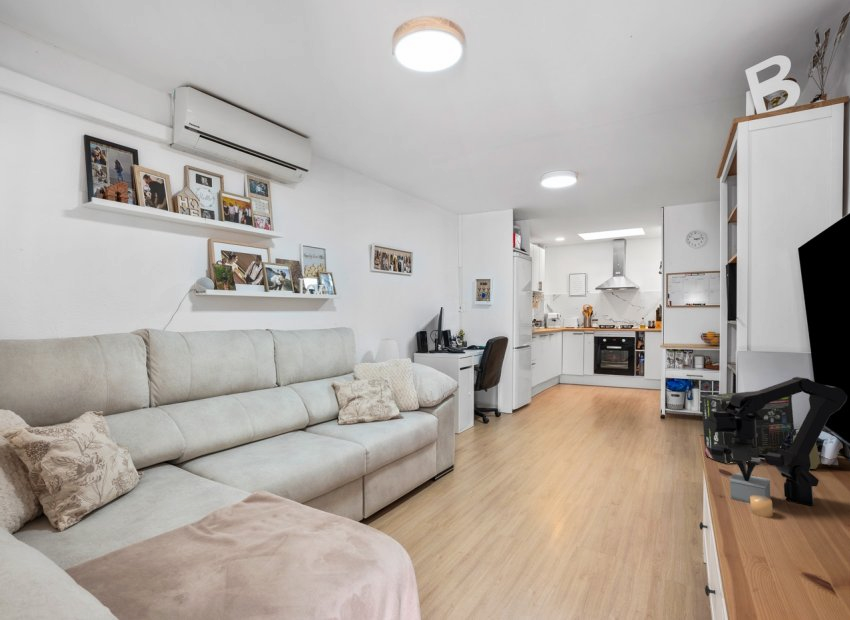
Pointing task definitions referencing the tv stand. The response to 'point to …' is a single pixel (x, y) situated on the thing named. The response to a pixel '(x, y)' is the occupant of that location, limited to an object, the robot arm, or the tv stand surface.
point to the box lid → (750, 480)
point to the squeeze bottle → (812, 454)
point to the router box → (767, 430)
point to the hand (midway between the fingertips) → (746, 481)
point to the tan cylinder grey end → (761, 506)
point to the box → (747, 491)
